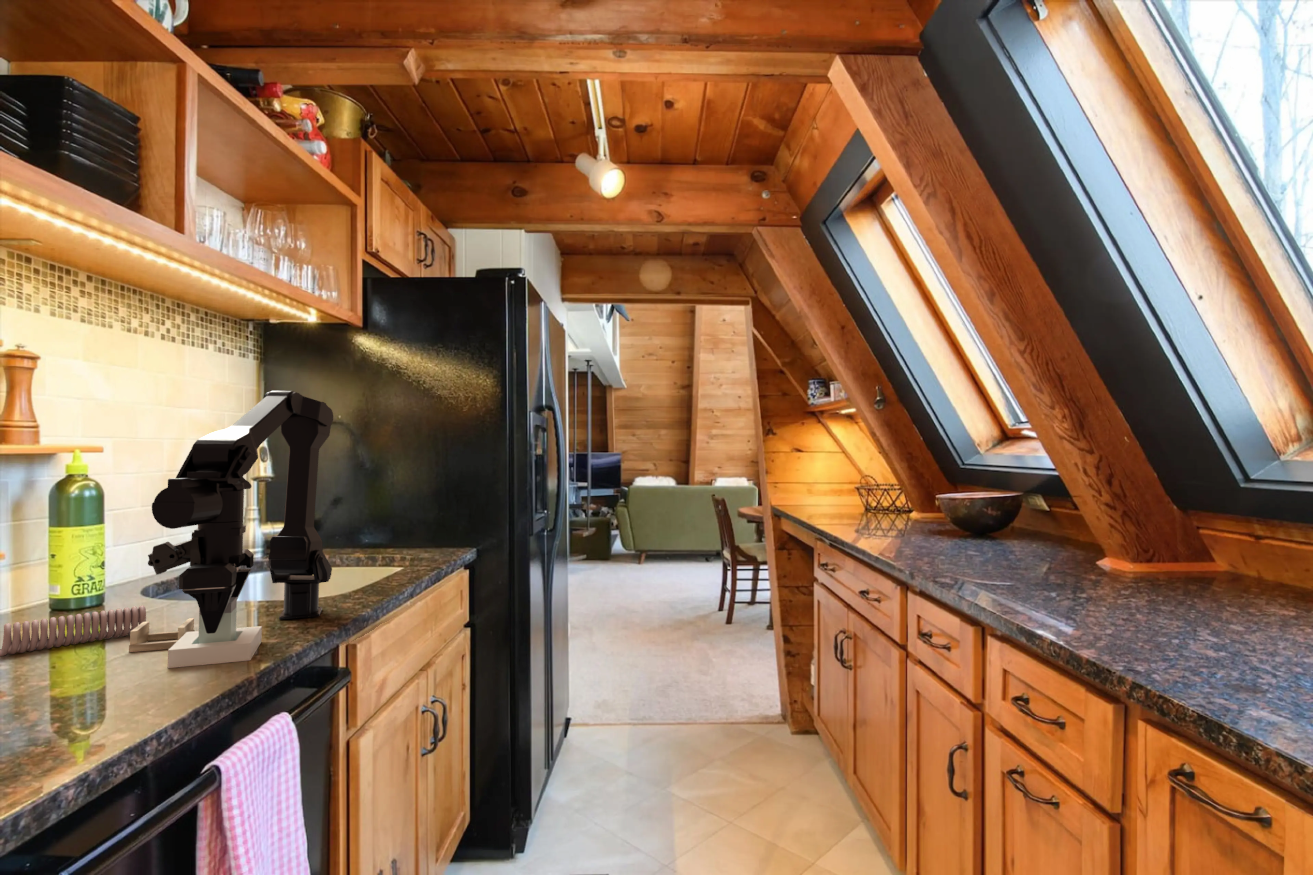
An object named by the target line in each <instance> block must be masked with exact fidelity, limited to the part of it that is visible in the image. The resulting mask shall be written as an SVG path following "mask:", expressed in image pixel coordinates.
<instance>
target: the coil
mask: <svg viewBox="0 0 1313 875" xmlns="http://www.w3.org/2000/svg"><path fill="white" fill-rule="evenodd" d="M48 621H49V622H48ZM142 622H147V609H146V606H145V605H139V606H138V607H137V606H135V605H133V606H132V607H131V608H130V607H128V606H127V607H124V608H123V609H122V608H117V609H115V610H114V609H108V611H107V610H101V611H100V612H98V611H92V613H91V614H90V613H89V612H85V613H84V614H83V615H82V614H81V613H77V614H75V616H74V615H72V614H68V615H67V616H66V617H65V616H63V615H60V616H59V617H58V618H56V617H54V616H53V617H52V616H51V617H50V619H49V620H48V618H42V619H41V620H40V621H39V620H38V619H34V620H32V621H31V623H30V621H28V620H25V621H23V622H22V626H21V623H20V622H19V621H17V622H14V623H13V627H12V624H11V623H9V622H8V623H7V622H6V623H5V624H4V625H3V637H2V646H1V648H0V657H4V656H6V655H7V654H8V655H15V654H16V653H19V654H23V653H25V652H26V651H27V652H33V651H35V650H36V651H41V650H43V649H52V648H53V647H54V648H60V647H61V646H64V647H66V646H70V644H71V645H77V644H85V643H87V642H94V641H95V640H96V641H102V640H103V639H105V640H110V639H111V638H113V639H115V638H117V639H118V638H119V637H126V636H130V631H132V630H133V629H134V628H136V627H137V626H138V625H140V624H141V623H142ZM30 625H31V626H30ZM21 627H22V634H21ZM12 629H13V630H12ZM39 629H40V630H39ZM30 630H31V633H30ZM48 630H49V631H48ZM57 631H58V632H57ZM74 631H75V632H74ZM39 632H40V633H39ZM48 632H49V633H48ZM48 634H49V635H48Z"/></svg>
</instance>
